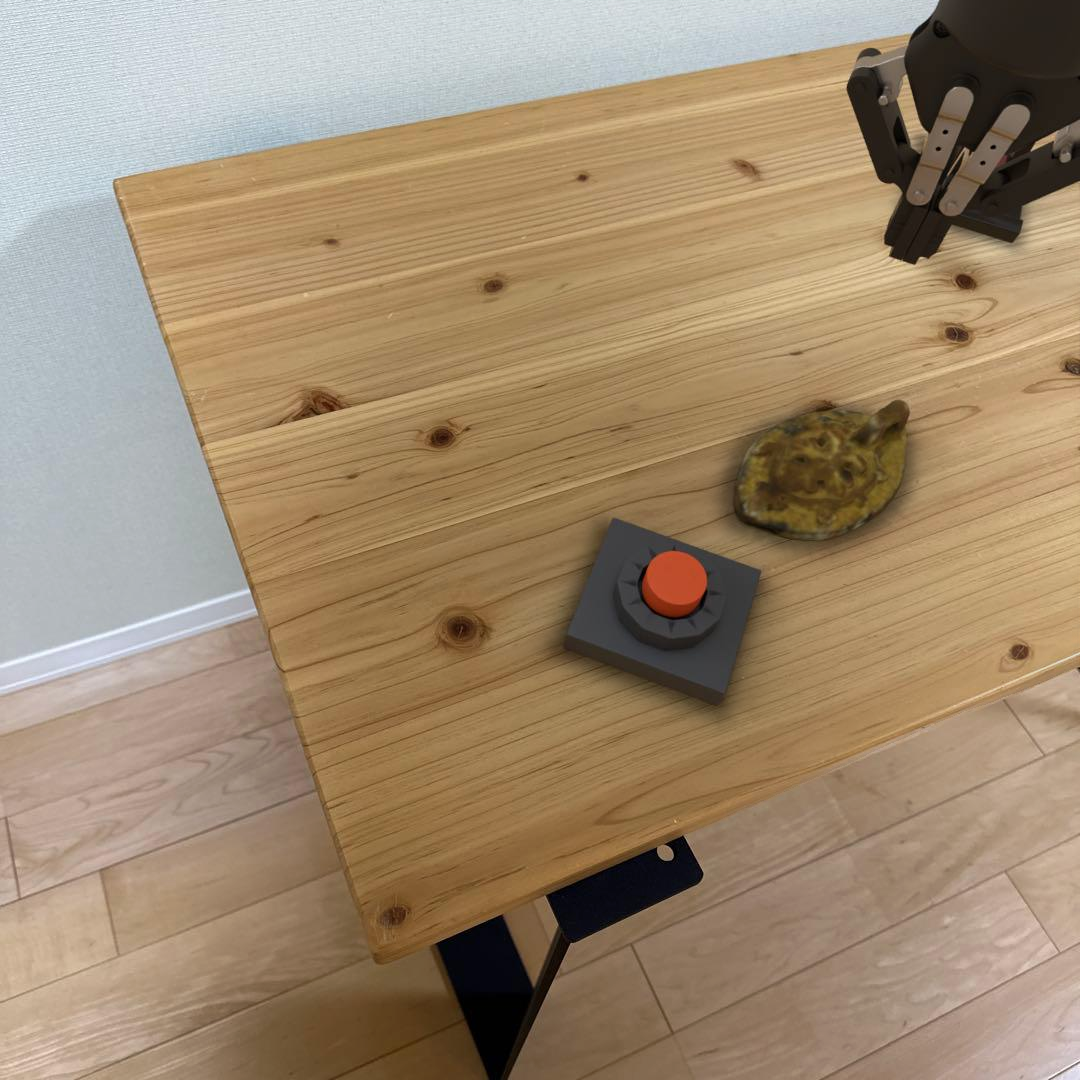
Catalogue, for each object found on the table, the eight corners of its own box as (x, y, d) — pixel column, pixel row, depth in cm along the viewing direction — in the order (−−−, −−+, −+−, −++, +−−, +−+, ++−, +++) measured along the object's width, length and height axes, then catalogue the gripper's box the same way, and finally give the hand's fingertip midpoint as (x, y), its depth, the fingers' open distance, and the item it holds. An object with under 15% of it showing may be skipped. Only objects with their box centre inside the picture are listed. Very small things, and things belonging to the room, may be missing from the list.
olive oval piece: (782, 583, 65) (932, 478, 70) (809, 555, 61) (967, 446, 66) (695, 477, 68) (846, 384, 73) (716, 443, 63) (874, 346, 68)
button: (707, 576, 60) (714, 563, 58) (691, 626, 58) (698, 613, 56) (651, 556, 60) (656, 542, 58) (633, 605, 58) (639, 591, 57)
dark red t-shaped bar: (1009, 248, 76) (1023, 229, 74) (933, 224, 77) (945, 205, 74) (1044, 118, 80) (1059, 97, 77) (972, 97, 80) (985, 75, 78)
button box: (752, 586, 64) (770, 556, 60) (716, 707, 59) (733, 682, 56) (608, 533, 65) (617, 501, 61) (562, 649, 60) (569, 621, 57)
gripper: (898, -86, 37) (770, 256, 52) (1251, 16, 36) (1014, 339, 51) (933, -170, 41) (804, 172, 56) (1253, -81, 39) (1032, 247, 54)
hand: (904, 251), depth 53 cm, fingers closed
